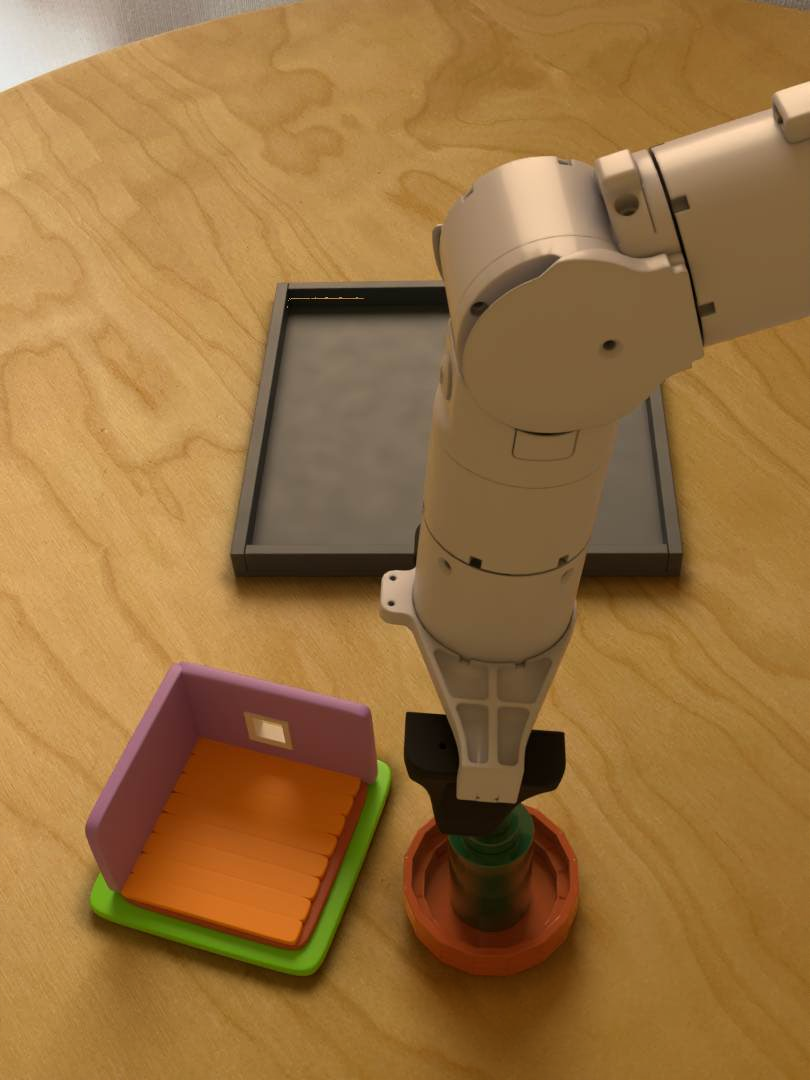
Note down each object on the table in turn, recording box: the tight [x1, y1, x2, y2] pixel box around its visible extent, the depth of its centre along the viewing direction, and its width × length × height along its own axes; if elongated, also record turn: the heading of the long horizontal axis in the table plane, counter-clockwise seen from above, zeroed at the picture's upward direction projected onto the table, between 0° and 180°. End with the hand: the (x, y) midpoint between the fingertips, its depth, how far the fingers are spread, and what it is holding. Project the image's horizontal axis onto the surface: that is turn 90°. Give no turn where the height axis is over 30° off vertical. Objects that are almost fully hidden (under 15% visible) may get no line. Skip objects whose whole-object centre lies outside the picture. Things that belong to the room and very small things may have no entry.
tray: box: [229, 279, 684, 577], centre depth 85 cm, size 26×26×2 cm
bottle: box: [447, 802, 534, 931], centre depth 59 cm, size 4×4×9 cm
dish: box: [402, 803, 580, 976], centre depth 62 cm, size 8×8×2 cm
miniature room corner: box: [84, 661, 393, 977], centre depth 63 cm, size 12×12×7 cm
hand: (466, 745), depth 54 cm, fingers open, 7 cm apart
